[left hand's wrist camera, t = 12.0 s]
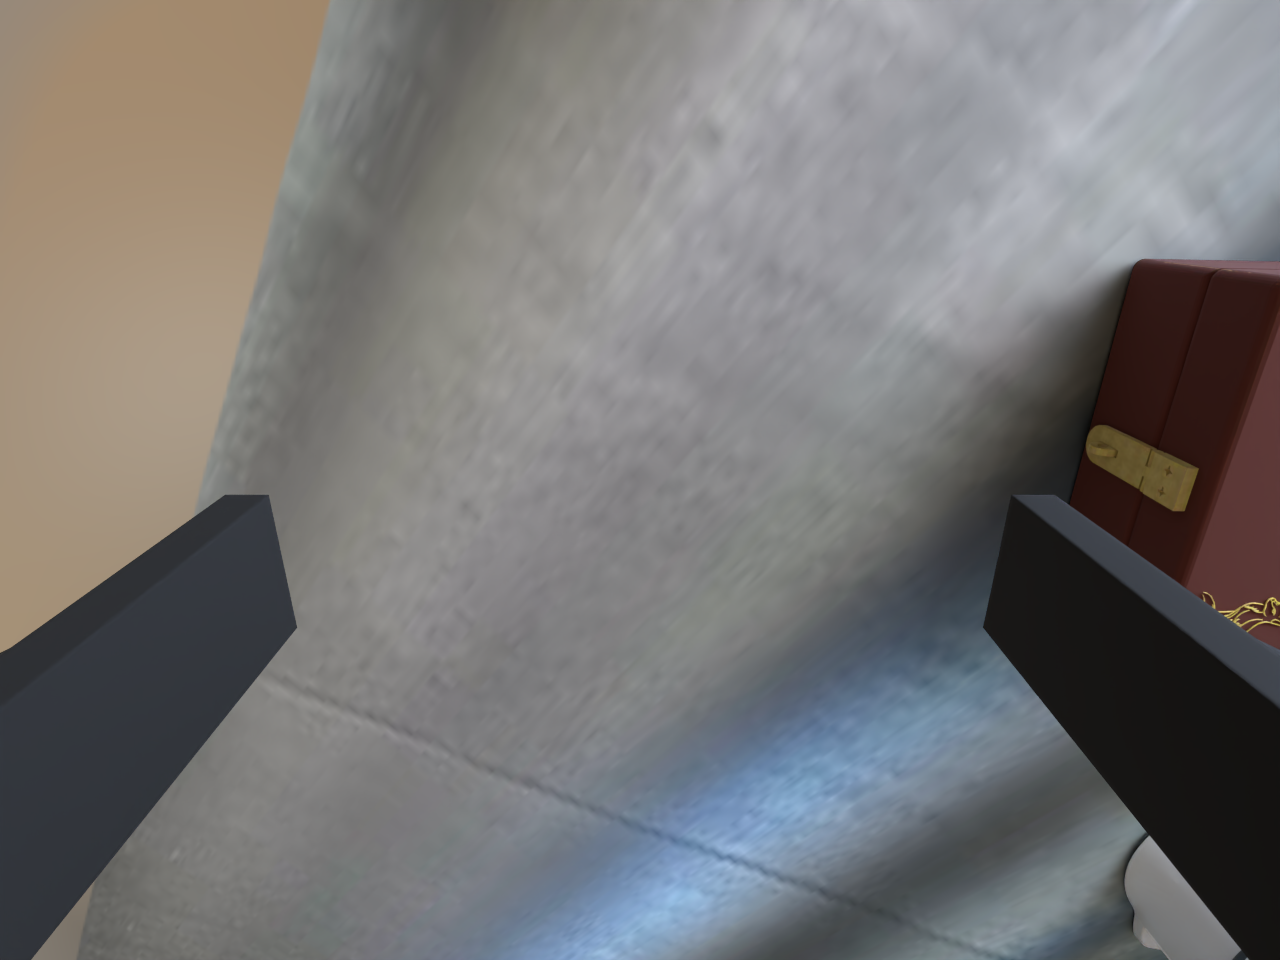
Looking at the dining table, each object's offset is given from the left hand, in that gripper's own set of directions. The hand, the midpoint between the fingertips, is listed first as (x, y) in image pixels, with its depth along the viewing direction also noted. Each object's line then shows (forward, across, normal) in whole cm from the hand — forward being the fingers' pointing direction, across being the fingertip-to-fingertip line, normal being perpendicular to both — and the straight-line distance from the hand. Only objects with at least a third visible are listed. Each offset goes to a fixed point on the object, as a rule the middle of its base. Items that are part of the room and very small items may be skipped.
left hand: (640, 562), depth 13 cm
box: (+30, +34, -8) cm, 47 cm away
